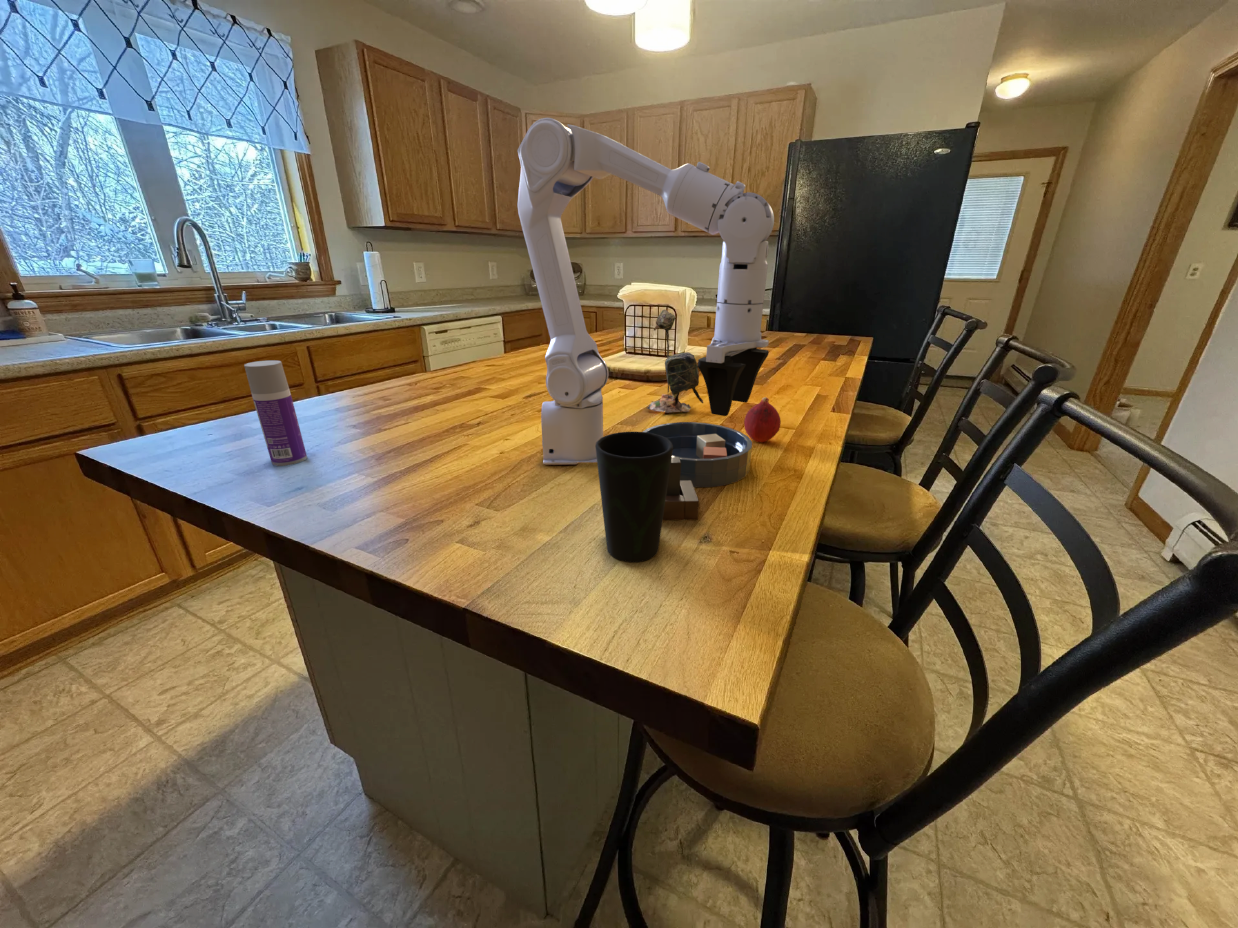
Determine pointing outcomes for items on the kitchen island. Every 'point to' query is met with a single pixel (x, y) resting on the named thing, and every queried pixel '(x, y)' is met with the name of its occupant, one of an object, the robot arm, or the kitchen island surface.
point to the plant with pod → (676, 373)
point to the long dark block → (674, 477)
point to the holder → (682, 504)
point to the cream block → (708, 443)
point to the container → (276, 412)
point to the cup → (633, 492)
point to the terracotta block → (714, 452)
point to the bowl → (707, 469)
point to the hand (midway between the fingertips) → (730, 407)
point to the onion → (762, 421)
